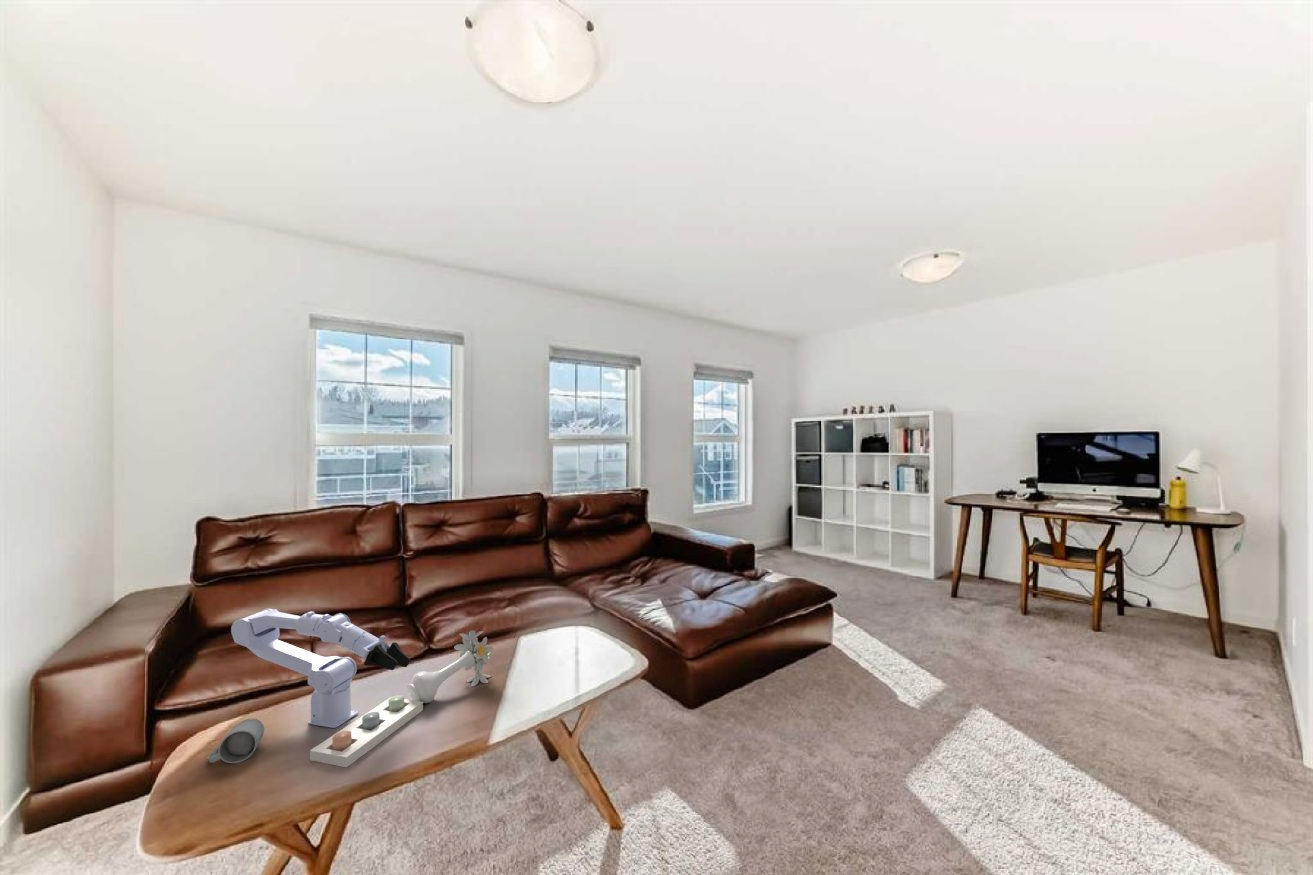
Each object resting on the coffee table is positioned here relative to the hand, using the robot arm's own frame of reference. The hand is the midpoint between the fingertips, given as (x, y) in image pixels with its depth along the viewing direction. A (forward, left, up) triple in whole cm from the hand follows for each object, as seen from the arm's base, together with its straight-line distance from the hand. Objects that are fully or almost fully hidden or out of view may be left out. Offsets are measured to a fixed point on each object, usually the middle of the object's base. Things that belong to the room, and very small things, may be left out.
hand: (401, 664), depth 139 cm
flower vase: (+2, +20, -17) cm, 26 cm away
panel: (-5, -5, -16) cm, 18 cm away
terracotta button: (-5, -14, -15) cm, 21 cm away
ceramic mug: (-30, -21, -17) cm, 41 cm away
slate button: (-5, -5, -15) cm, 17 cm away
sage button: (-5, +4, -15) cm, 16 cm away
